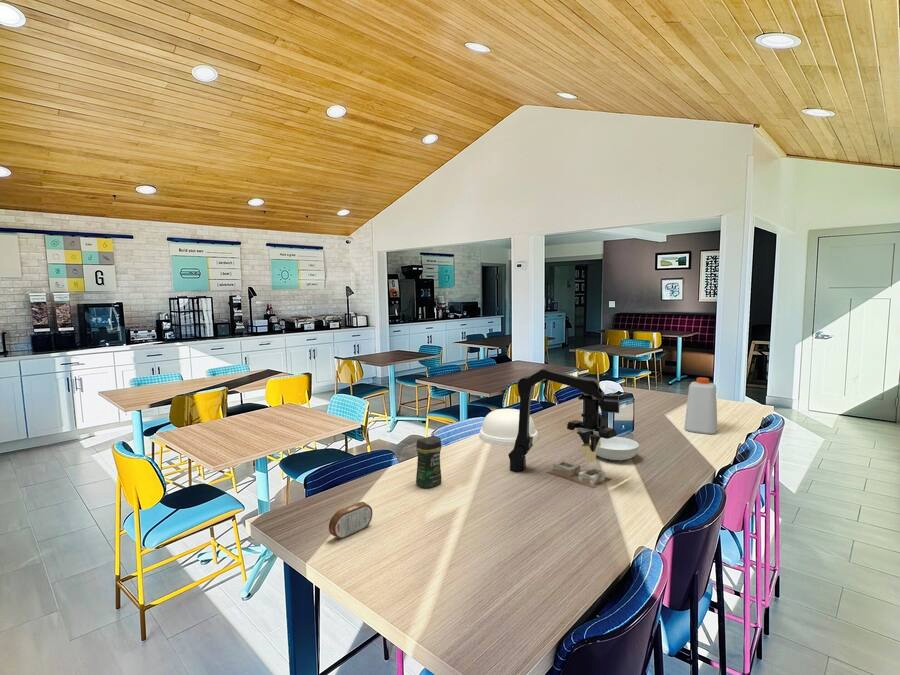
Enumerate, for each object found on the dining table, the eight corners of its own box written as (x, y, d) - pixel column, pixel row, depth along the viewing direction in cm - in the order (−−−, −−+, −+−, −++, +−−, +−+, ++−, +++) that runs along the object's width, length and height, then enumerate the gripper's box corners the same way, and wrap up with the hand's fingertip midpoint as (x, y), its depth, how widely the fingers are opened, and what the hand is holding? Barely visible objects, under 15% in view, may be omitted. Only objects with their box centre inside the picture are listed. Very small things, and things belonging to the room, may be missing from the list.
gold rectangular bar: (600, 458, 191) (600, 441, 190) (585, 464, 185) (585, 446, 184) (596, 457, 192) (596, 440, 192) (580, 463, 186) (580, 445, 186)
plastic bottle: (717, 428, 262) (720, 377, 259) (715, 435, 249) (718, 381, 246) (686, 424, 270) (688, 374, 267) (683, 431, 257) (685, 379, 254)
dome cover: (468, 433, 257) (468, 406, 256) (517, 426, 269) (517, 401, 268) (498, 450, 228) (498, 421, 226) (551, 442, 240) (551, 414, 239)
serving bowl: (631, 450, 227) (631, 436, 226) (644, 466, 206) (645, 450, 205) (585, 449, 229) (585, 435, 228) (594, 464, 208) (594, 449, 207)
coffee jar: (426, 490, 182) (425, 442, 180) (412, 484, 187) (412, 437, 186) (445, 483, 188) (445, 436, 186) (431, 478, 194) (431, 432, 192)
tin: (368, 522, 157) (367, 497, 156) (374, 525, 154) (373, 500, 154) (328, 540, 145) (327, 513, 145) (334, 544, 143) (333, 516, 142)
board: (594, 490, 181) (594, 480, 180) (545, 474, 197) (545, 465, 196) (612, 481, 189) (612, 471, 189) (564, 467, 205) (564, 457, 205)
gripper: (624, 411, 185) (624, 452, 186) (583, 404, 199) (583, 441, 200) (607, 416, 178) (607, 458, 179) (566, 408, 192) (566, 446, 193)
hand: (590, 450), depth 188 cm, fingers closed on gold rectangular bar, 2 cm apart
